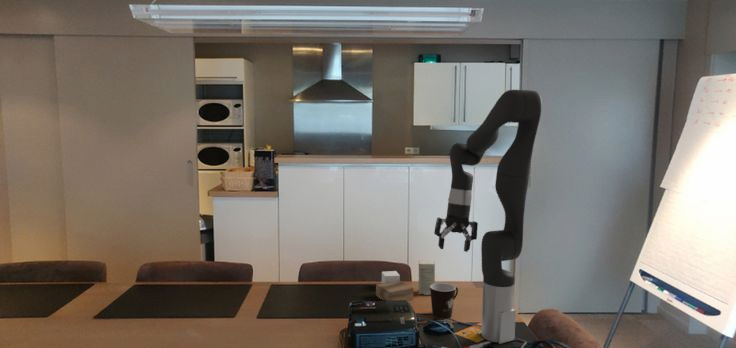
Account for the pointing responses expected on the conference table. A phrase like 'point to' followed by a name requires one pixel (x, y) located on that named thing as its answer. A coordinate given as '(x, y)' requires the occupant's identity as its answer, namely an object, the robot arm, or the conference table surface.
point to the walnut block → (394, 291)
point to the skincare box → (426, 276)
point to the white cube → (390, 276)
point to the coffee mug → (442, 299)
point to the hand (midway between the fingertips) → (453, 250)
